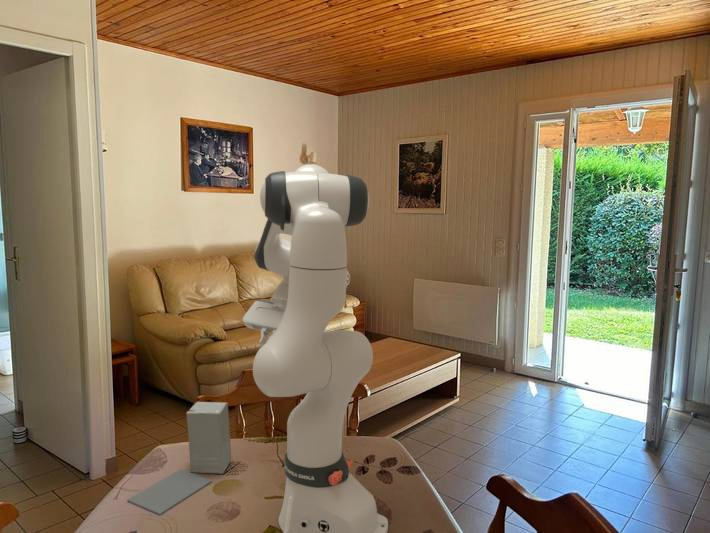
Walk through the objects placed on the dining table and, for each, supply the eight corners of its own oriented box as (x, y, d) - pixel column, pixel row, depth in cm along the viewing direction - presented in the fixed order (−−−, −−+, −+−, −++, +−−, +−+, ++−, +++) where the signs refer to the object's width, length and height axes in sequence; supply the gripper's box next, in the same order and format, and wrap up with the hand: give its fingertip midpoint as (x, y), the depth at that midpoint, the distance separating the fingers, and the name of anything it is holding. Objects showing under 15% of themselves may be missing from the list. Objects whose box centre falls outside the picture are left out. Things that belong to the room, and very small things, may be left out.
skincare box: (231, 461, 131) (231, 401, 129) (221, 476, 124) (220, 412, 122) (198, 459, 132) (197, 399, 130) (187, 474, 124) (185, 410, 122)
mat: (212, 482, 121) (212, 480, 121) (159, 515, 108) (159, 513, 108) (181, 470, 126) (180, 468, 126) (127, 501, 113) (127, 499, 113)
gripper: (252, 291, 149) (228, 332, 142) (312, 300, 140) (290, 345, 133) (262, 304, 154) (239, 344, 147) (321, 314, 144) (300, 357, 137)
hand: (264, 345), depth 140 cm, fingers closed
